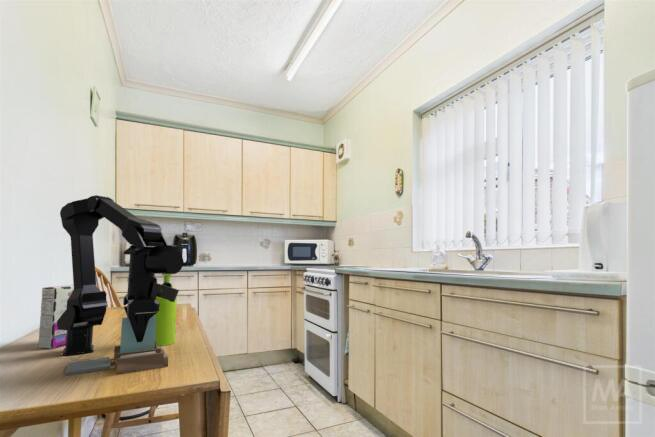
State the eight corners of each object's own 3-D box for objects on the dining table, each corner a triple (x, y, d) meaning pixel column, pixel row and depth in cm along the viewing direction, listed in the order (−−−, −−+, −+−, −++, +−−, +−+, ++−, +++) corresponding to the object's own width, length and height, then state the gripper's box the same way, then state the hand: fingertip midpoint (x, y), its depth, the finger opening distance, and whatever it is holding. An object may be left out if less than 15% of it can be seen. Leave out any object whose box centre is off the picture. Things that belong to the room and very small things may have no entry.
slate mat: (67, 365, 79) (68, 362, 79) (109, 359, 84) (109, 357, 84) (65, 375, 73) (65, 372, 73) (110, 368, 77) (110, 365, 77)
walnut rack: (114, 358, 85) (114, 345, 85) (159, 352, 90) (159, 340, 90) (116, 374, 73) (117, 359, 74) (167, 366, 79) (168, 352, 79)
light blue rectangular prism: (119, 360, 83) (122, 317, 84) (151, 356, 87) (154, 315, 88) (120, 365, 80) (123, 320, 81) (154, 360, 84) (156, 317, 85)
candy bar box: (73, 339, 105) (78, 283, 106) (87, 339, 104) (91, 284, 105) (35, 348, 94) (41, 286, 95) (51, 349, 93) (56, 287, 94)
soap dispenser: (172, 339, 105) (175, 272, 107) (176, 344, 99) (179, 273, 101) (150, 341, 102) (154, 272, 104) (153, 346, 96) (157, 273, 98)
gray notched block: (119, 369, 77) (120, 355, 77) (158, 363, 81) (158, 350, 82) (119, 372, 75) (120, 358, 75) (159, 366, 79) (160, 353, 80)
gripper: (184, 274, 82) (181, 342, 81) (170, 271, 98) (167, 328, 96) (130, 275, 76) (125, 349, 74) (125, 272, 92) (120, 332, 90)
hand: (137, 338), depth 84 cm, fingers open, 8 cm apart
